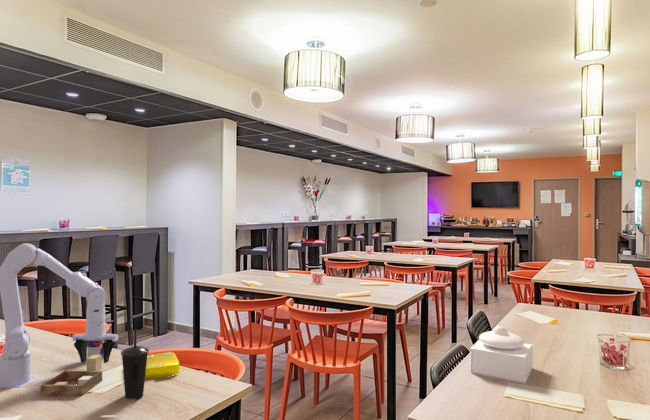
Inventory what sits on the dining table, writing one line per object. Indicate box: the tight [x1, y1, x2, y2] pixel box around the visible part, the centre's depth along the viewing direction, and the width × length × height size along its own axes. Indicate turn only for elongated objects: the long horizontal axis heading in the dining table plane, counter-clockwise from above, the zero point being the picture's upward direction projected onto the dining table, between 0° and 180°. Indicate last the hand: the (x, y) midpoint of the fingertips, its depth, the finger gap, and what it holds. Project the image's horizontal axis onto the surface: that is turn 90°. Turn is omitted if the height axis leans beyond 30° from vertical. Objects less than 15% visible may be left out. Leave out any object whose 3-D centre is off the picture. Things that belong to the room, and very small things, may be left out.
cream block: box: [78, 376, 93, 385], centre depth 138 cm, size 3×3×2 cm
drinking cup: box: [120, 328, 150, 401], centre depth 130 cm, size 8×8×20 cm
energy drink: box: [87, 341, 105, 360], centre depth 162 cm, size 5×5×12 cm
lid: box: [86, 355, 103, 371], centre depth 149 cm, size 13×13×6 cm
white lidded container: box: [469, 325, 534, 385], centre depth 156 cm, size 18×18×16 cm
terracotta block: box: [54, 382, 68, 385], centre depth 133 cm, size 3×3×2 cm
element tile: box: [145, 351, 180, 380], centre depth 151 cm, size 15×15×5 cm
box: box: [40, 370, 103, 397], centre depth 135 cm, size 12×12×4 cm
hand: (95, 361), depth 150 cm, fingers open, 7 cm apart
